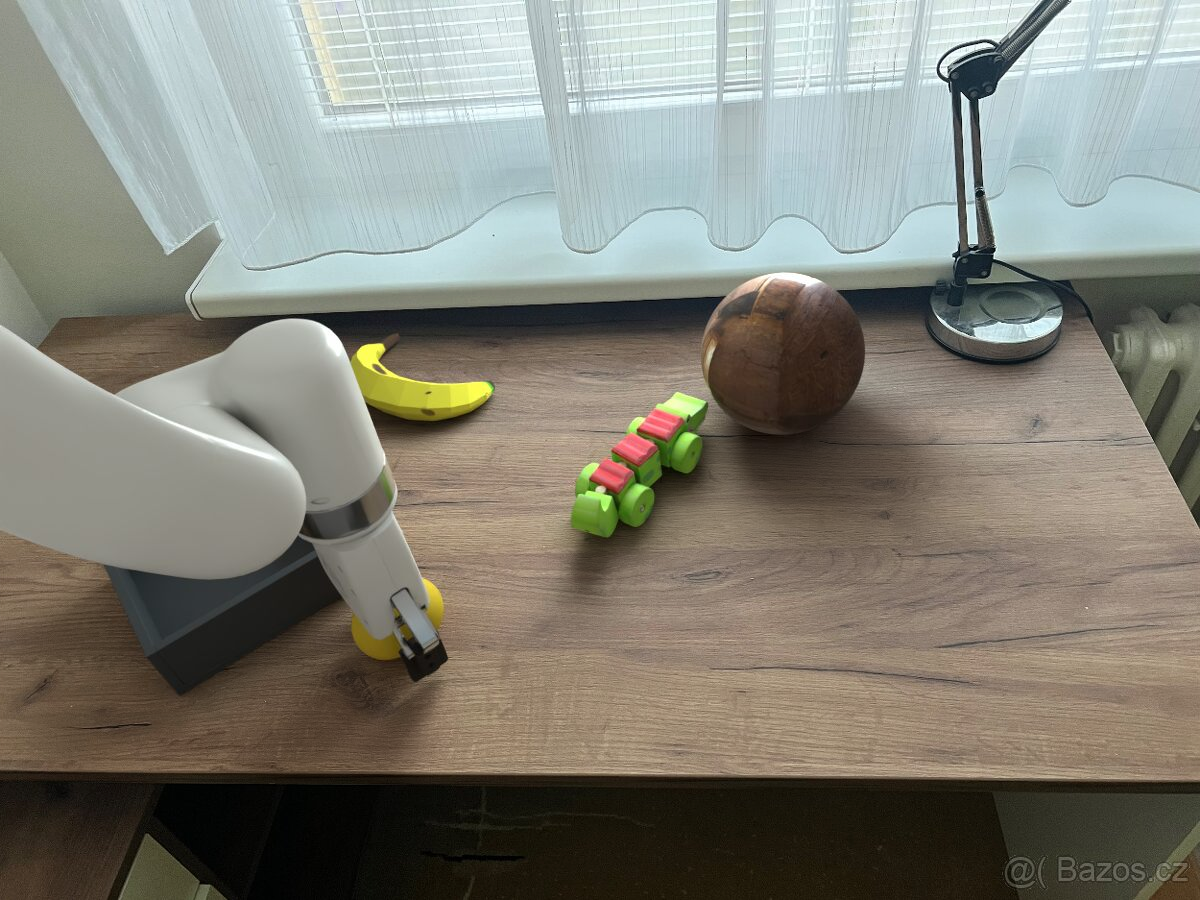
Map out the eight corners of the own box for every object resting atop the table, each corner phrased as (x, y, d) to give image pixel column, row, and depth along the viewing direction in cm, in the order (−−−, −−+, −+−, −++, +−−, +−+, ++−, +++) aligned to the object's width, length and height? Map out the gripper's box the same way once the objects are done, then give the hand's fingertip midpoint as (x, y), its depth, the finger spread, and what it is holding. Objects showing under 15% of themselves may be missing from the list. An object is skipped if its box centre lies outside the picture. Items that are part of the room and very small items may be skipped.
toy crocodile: (671, 409, 89) (668, 362, 85) (727, 432, 86) (728, 385, 82) (549, 535, 79) (539, 490, 74) (608, 567, 75) (601, 521, 71)
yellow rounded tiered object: (382, 686, 69) (361, 646, 65) (351, 642, 73) (330, 601, 69) (463, 632, 72) (447, 590, 68) (430, 591, 76) (413, 550, 72)
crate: (179, 696, 71) (146, 657, 66) (120, 574, 80) (88, 533, 76) (372, 577, 77) (352, 535, 73) (295, 478, 87) (275, 436, 83)
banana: (479, 397, 87) (514, 326, 99) (314, 384, 89) (368, 316, 101) (483, 435, 89) (517, 361, 101) (323, 421, 92) (374, 351, 104)
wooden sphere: (858, 371, 90) (877, 245, 80) (852, 475, 80) (871, 346, 70) (714, 360, 94) (713, 237, 83) (690, 458, 84) (686, 333, 73)
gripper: (239, 450, 63) (316, 593, 75) (344, 597, 53) (414, 735, 65) (332, 402, 66) (392, 547, 78) (449, 532, 56) (497, 675, 68)
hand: (402, 631), depth 72 cm, fingers open, 8 cm apart
